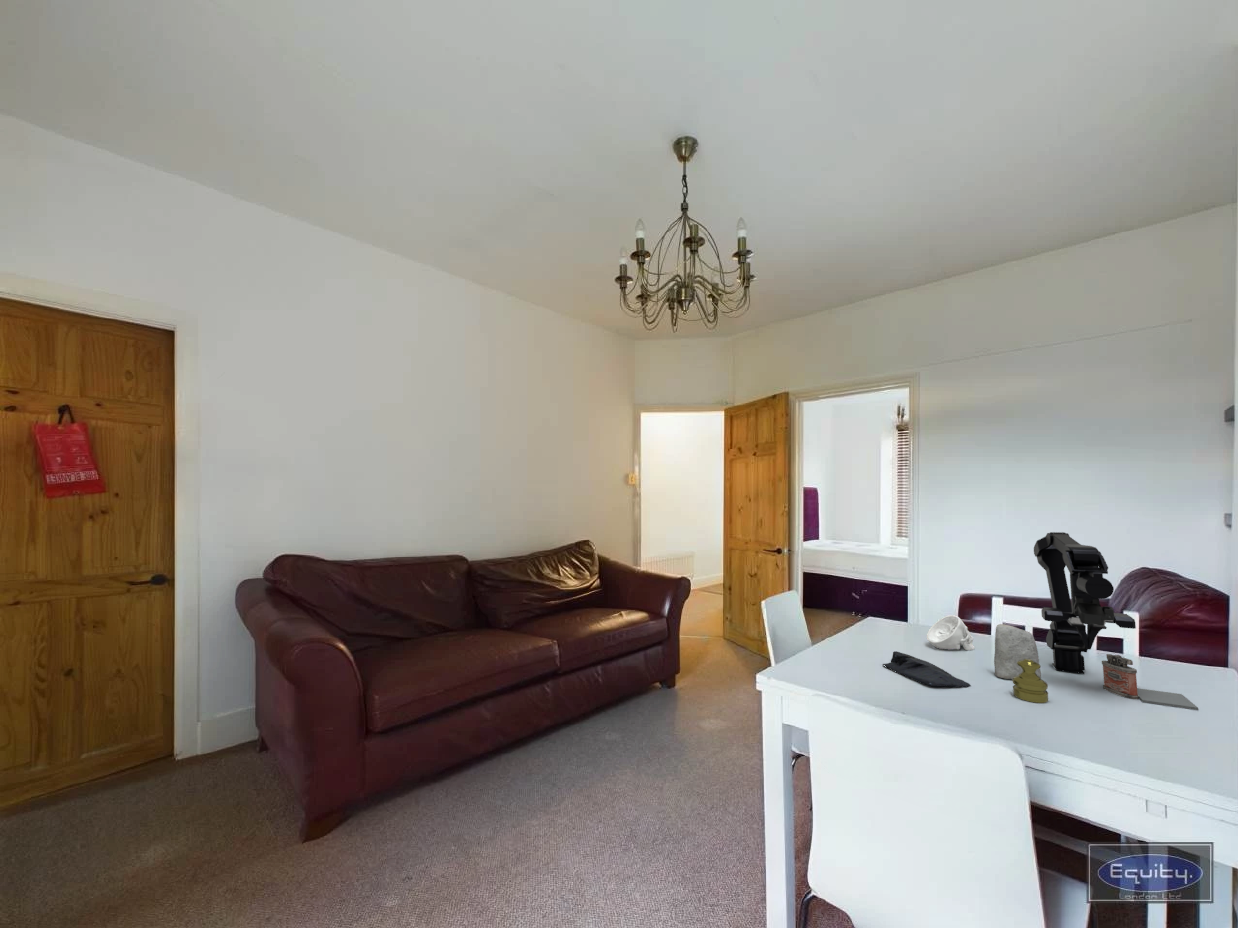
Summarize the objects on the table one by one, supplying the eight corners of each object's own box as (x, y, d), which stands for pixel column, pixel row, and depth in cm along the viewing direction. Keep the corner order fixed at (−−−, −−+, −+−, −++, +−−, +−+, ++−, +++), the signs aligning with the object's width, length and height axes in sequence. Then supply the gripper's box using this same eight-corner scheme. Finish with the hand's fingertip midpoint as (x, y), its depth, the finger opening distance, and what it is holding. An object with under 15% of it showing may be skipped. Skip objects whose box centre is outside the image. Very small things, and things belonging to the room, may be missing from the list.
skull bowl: (989, 647, 176) (969, 617, 176) (957, 671, 174) (937, 640, 175) (966, 638, 186) (947, 610, 186) (936, 660, 185) (917, 632, 185)
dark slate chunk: (925, 692, 143) (924, 674, 143) (878, 665, 164) (877, 650, 165) (976, 689, 144) (975, 672, 144) (923, 663, 166) (923, 648, 166)
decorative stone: (1037, 677, 151) (1034, 625, 152) (1044, 684, 145) (1040, 630, 146) (992, 672, 155) (989, 622, 156) (997, 679, 150) (994, 627, 151)
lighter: (1099, 688, 142) (1097, 651, 143) (1110, 687, 142) (1108, 650, 143) (1131, 699, 134) (1128, 660, 135) (1142, 699, 134) (1140, 660, 135)
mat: (1142, 702, 132) (1142, 699, 132) (1129, 689, 141) (1129, 687, 141) (1198, 710, 127) (1198, 707, 127) (1181, 696, 136) (1181, 693, 136)
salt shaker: (1040, 705, 131) (1037, 665, 132) (1007, 695, 138) (1005, 657, 138) (1054, 699, 135) (1052, 661, 135) (1021, 690, 141) (1019, 653, 142)
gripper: (1046, 594, 141) (1050, 652, 140) (1140, 600, 131) (1145, 662, 130) (1039, 587, 150) (1042, 641, 149) (1126, 592, 141) (1130, 650, 140)
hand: (1088, 648), depth 142 cm, fingers closed
